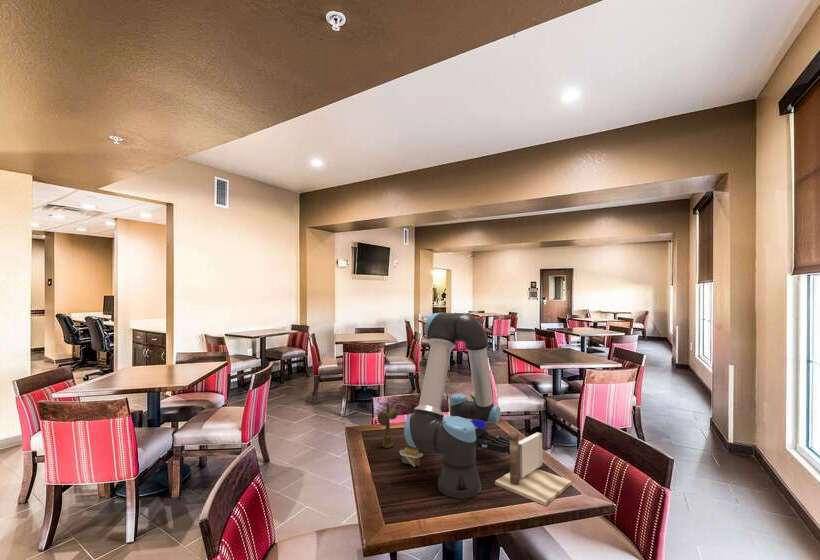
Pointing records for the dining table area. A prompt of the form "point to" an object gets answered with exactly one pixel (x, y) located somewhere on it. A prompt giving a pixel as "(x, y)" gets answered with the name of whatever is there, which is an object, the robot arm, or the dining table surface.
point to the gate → (530, 454)
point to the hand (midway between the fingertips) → (527, 453)
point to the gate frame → (531, 479)
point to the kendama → (387, 424)
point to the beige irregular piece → (411, 457)
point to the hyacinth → (476, 422)
